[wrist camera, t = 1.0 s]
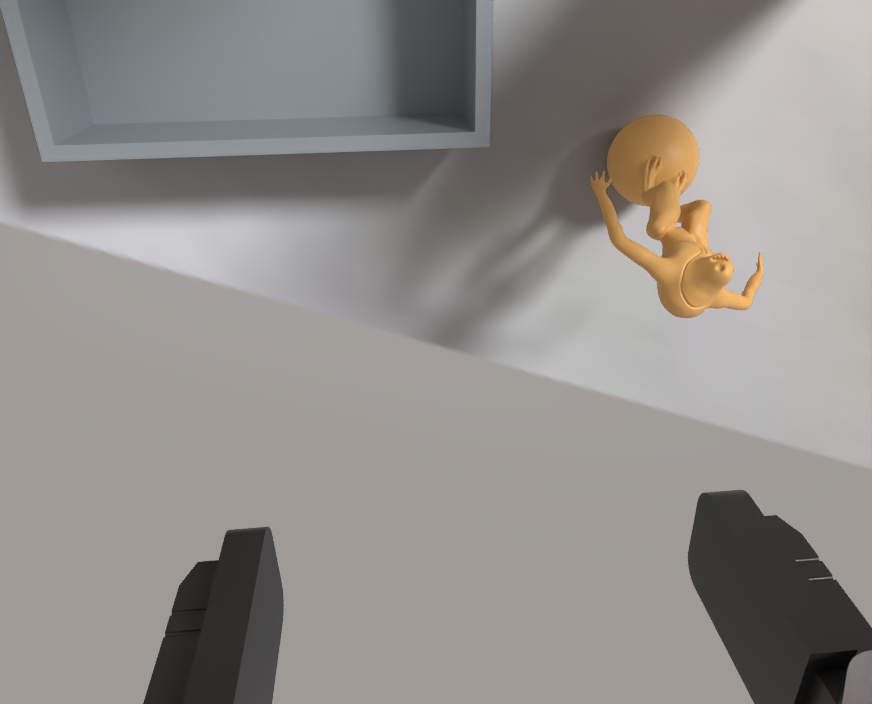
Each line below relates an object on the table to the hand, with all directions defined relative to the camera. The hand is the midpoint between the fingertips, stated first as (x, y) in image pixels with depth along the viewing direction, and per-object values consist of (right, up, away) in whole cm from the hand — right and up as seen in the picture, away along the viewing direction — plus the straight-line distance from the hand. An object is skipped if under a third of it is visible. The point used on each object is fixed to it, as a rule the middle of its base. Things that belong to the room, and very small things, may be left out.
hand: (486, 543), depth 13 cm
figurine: (+8, +12, +21) cm, 26 cm away
